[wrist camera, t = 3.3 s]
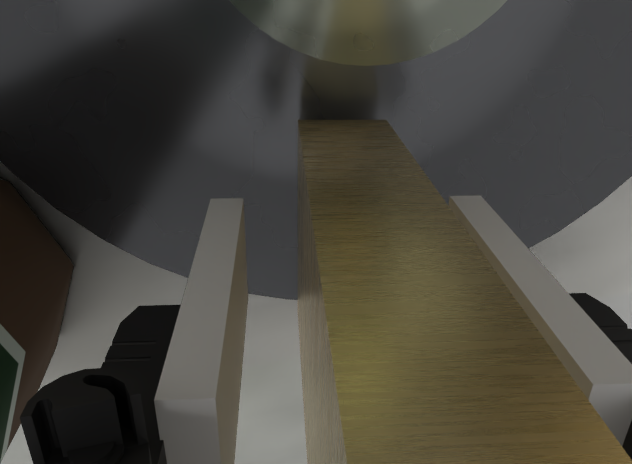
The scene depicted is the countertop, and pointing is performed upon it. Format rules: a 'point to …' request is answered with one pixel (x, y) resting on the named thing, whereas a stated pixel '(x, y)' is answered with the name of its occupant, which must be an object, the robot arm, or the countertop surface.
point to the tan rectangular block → (417, 324)
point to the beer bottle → (26, 306)
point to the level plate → (308, 109)
